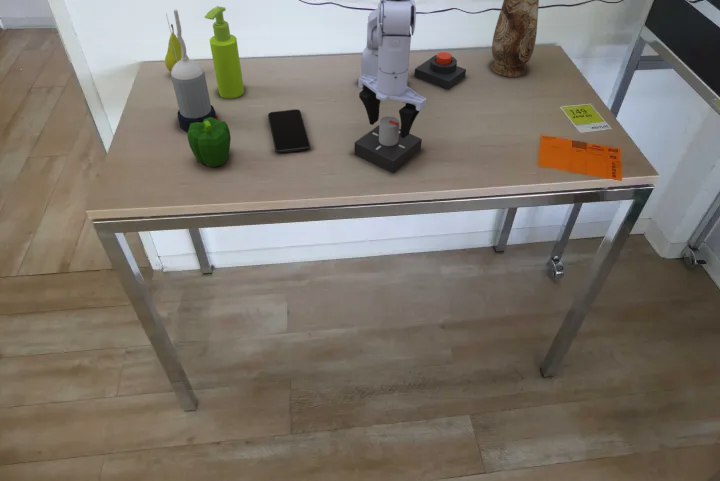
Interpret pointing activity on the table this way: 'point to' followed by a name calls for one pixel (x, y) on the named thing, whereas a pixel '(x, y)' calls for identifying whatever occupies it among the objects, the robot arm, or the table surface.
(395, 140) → the dial
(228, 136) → the bell pepper
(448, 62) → the power button
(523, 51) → the vase
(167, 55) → the fruit
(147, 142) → the table surface
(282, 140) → the smartphone
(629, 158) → the table surface
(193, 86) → the humidifier
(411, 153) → the dial panel
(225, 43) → the soap dispenser
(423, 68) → the button block
